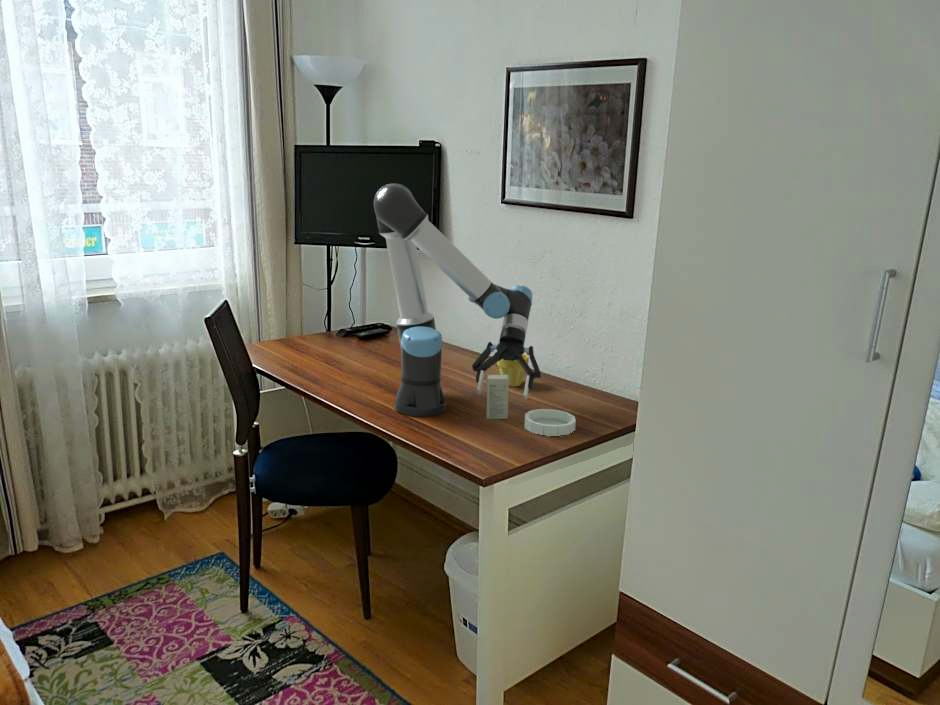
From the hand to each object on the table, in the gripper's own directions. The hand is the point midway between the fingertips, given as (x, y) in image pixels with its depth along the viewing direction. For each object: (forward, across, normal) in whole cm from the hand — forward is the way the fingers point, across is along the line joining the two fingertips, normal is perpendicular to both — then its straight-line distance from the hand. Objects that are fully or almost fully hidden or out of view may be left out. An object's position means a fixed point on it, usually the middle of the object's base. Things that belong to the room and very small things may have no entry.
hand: (501, 394), depth 212 cm
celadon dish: (+8, -15, -1) cm, 17 cm away
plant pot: (-18, +3, -28) cm, 34 cm away
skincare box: (+5, +1, -4) cm, 7 cm away
